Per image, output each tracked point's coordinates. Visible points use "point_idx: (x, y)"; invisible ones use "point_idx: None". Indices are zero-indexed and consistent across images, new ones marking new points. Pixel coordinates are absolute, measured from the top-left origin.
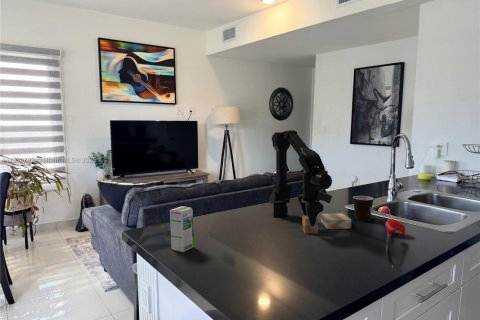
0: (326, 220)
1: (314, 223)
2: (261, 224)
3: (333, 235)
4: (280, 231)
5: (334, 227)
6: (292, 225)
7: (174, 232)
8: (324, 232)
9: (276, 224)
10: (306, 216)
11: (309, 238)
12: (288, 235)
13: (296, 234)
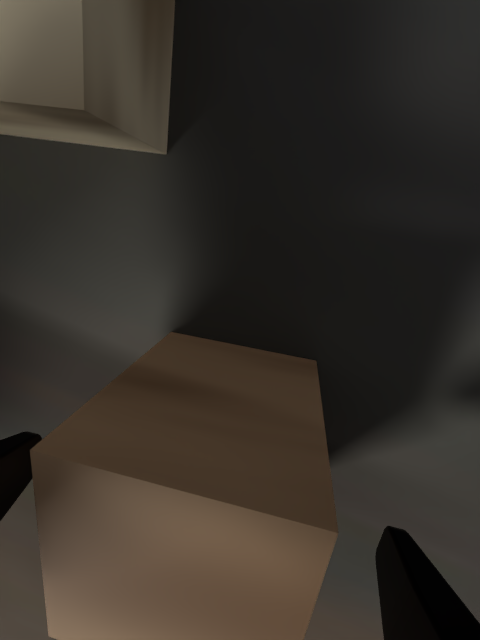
0: (39, 112)
1: (447, 590)
2: (22, 636)
3: (470, 187)
4: None
5: (163, 13)
6: None
7: None
8: (305, 261)
9: (17, 562)
10: (107, 616)
11: (452, 510)
12: None
13: None
